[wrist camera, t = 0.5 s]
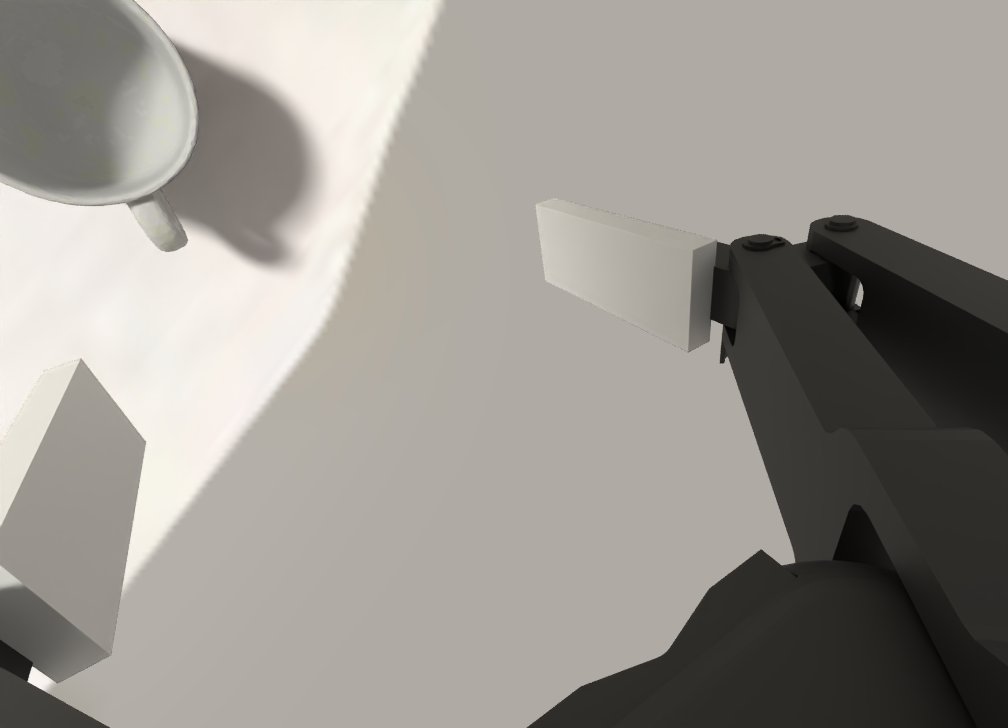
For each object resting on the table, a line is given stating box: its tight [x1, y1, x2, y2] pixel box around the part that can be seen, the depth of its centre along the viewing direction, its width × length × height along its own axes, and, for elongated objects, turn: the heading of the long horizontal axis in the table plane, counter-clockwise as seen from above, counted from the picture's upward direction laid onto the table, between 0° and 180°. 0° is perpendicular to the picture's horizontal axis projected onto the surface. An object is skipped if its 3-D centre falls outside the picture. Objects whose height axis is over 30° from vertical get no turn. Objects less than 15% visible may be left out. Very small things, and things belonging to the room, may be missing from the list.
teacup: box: [0, 0, 199, 252], centre depth 27 cm, size 14×11×8 cm
